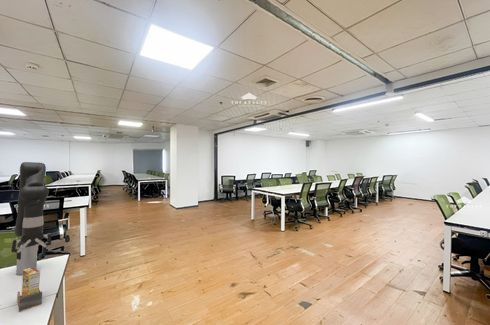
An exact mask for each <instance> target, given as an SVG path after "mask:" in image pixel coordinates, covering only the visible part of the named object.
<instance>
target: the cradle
mask: <svg viewBox="0 0 490 325" xmlns="http://www.w3.org/2000/svg"><path fill="white" fill-rule="evenodd" d="M16 293H17V295H16V296H17V298H16V299H17V308H18V313H20V312H23V311H26V310H29V309H32V308H34V307H37V306H40V305H42V302H43V301H42V300H43V291H41V290H40V289H39V292H38V293H35V294H32V295H29V296H26V297H22V298H21V293H20V291H17V292H16Z"/></svg>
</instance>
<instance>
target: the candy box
mask: <svg viewBox="0 0 490 325" xmlns="http://www.w3.org/2000/svg"><path fill="white" fill-rule="evenodd" d="M40 277H41V271H40V270H38V269H37V268H36V269H35V268H33V267H32V268H28V269H25V270H23V275H22V279H21V280H22V282H21V283H22V284H21V293H20V296H21V298H22V297H26V296H29V295H32V294H35V293H38V292H39V290H40Z"/></svg>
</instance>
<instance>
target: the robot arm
mask: <svg viewBox="0 0 490 325" xmlns="http://www.w3.org/2000/svg"><path fill="white" fill-rule="evenodd" d="M46 167H47V166H46V164H45V163H44V162H31V161H24V162H21V164H20V167H19V191H18V197H17V199H18V200H17V214H16V216H17V217H16V221H15V226H14V227H15V228H14V234H15V237H20V238H18V239H17V238H13V239H12V243H11V253H16V270H15V272H16V273H15V274H16V275H18V276H21V275H22V276H23V270H25V269H28V268H32V267H33V268H35V269H37V267H38V266H37V262H38V260H37V259H38V244H39V245H40V246H42V248H41V250H42V251H41V254H42V255H45V254H47V248H48V247H49V246H50V245H52V234H51V233H50V232H48V233H47V234H44V223H45V222H44V207H45V203H46V201H47V199H48V196H49V193H50V189H49V188H48V187H47V186H45V185H44V180H45V177H46V171H47V168H46ZM44 238H45V239H47V243H45V242H44V241H43V239H44ZM16 246H17V248H16Z"/></svg>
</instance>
